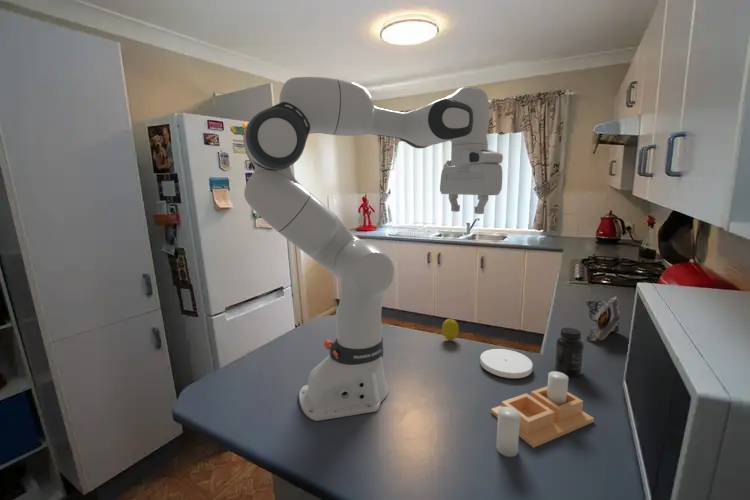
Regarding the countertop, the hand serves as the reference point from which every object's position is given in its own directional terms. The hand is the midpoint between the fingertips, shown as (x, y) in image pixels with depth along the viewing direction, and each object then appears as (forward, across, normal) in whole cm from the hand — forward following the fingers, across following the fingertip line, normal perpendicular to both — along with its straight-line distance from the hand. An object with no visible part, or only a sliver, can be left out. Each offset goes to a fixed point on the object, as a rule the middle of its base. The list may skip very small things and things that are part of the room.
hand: (466, 212), depth 90 cm
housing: (+44, +24, +4) cm, 51 cm away
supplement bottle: (+45, +13, +27) cm, 54 cm away
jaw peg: (+45, +28, -10) cm, 54 cm away
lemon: (+45, -17, +9) cm, 49 cm away
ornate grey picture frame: (+44, +3, +57) cm, 73 cm away
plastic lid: (+45, +4, +13) cm, 47 cm away
